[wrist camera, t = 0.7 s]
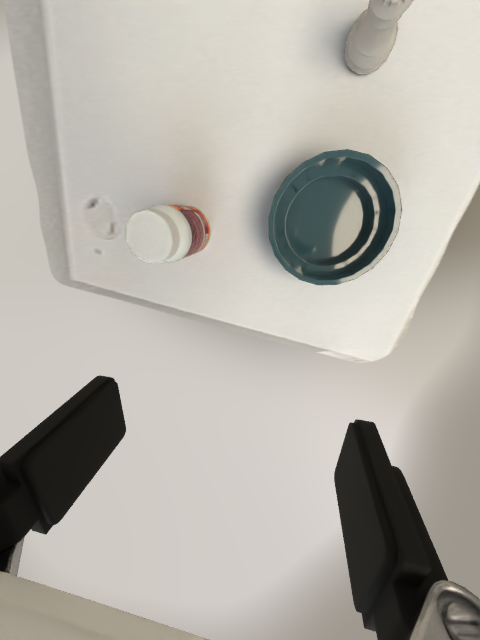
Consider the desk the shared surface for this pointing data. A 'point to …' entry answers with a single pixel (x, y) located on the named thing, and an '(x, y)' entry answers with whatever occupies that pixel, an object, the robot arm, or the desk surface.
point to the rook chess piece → (374, 35)
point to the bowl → (335, 217)
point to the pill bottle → (167, 233)
